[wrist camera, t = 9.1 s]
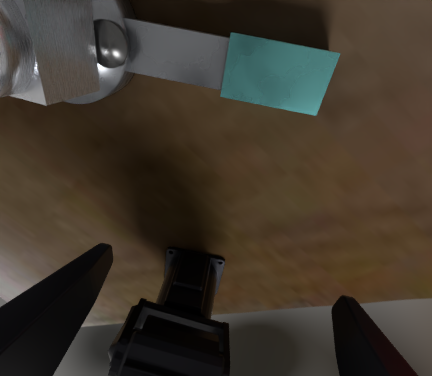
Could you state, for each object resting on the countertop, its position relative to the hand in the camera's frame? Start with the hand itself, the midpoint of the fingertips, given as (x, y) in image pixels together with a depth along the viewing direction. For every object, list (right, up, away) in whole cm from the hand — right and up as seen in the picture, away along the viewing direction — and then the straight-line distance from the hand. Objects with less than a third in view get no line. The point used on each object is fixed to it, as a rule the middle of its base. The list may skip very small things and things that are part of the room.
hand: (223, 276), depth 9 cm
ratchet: (-3, +13, +7) cm, 15 cm away
